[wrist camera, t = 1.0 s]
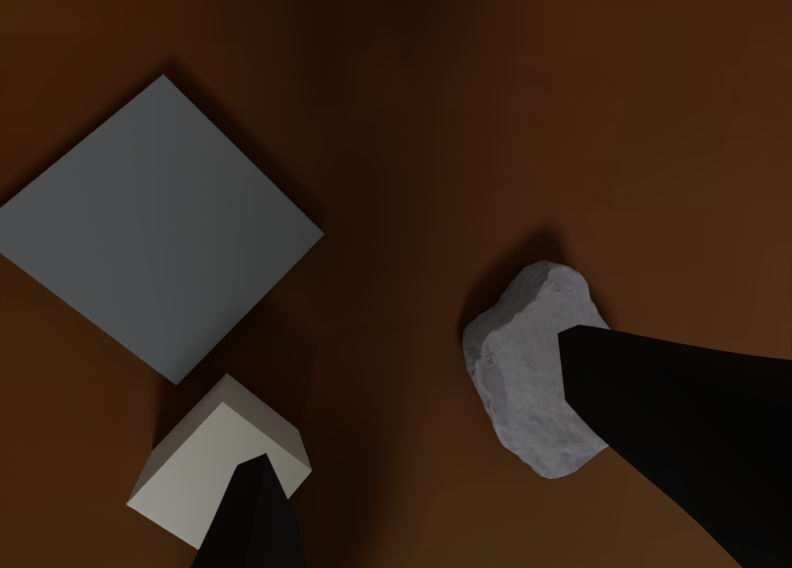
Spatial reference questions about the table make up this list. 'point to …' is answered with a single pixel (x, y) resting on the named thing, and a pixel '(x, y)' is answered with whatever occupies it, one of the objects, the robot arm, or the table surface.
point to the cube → (214, 459)
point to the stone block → (533, 367)
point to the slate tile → (157, 230)
